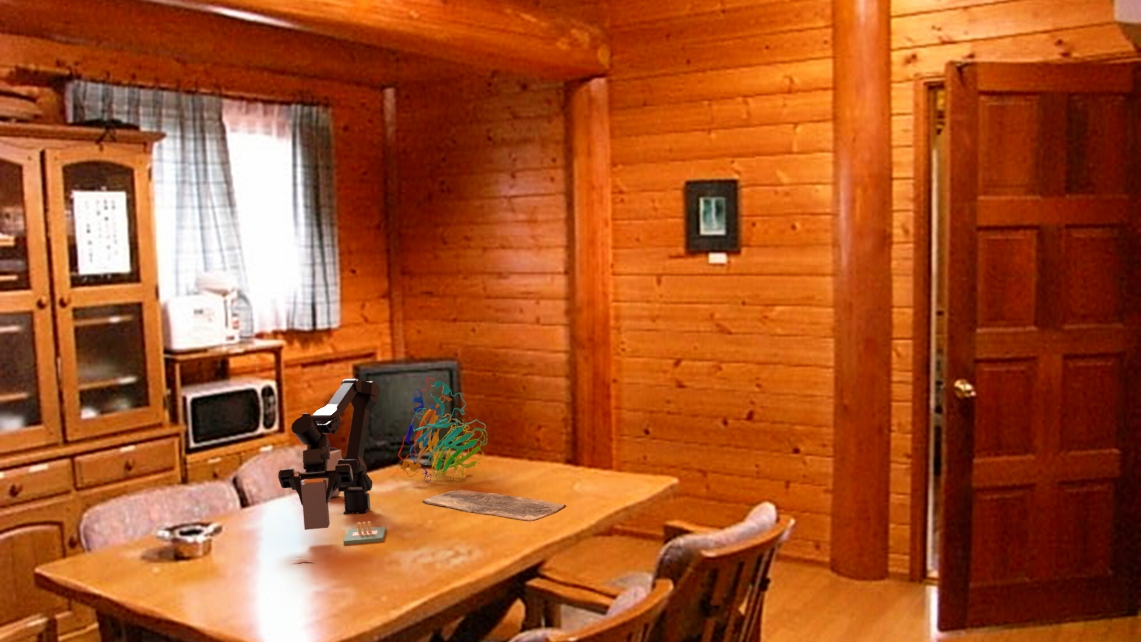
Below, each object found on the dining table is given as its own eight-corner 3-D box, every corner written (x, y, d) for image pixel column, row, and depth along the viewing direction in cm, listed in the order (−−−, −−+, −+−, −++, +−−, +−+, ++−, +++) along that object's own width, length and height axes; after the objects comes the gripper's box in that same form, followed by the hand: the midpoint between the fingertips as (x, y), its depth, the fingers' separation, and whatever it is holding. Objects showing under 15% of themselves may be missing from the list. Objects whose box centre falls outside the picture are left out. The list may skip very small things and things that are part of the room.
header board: (348, 533, 271) (347, 518, 271) (385, 529, 272) (384, 515, 272) (343, 544, 260) (342, 529, 260) (382, 541, 261) (381, 526, 261)
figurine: (352, 493, 317) (349, 446, 315) (329, 501, 308) (325, 453, 307) (333, 491, 321) (329, 445, 320) (309, 499, 313) (305, 451, 312)
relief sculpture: (529, 522, 271) (529, 520, 271) (416, 502, 300) (416, 499, 300) (573, 506, 286) (573, 504, 286) (461, 488, 315) (461, 486, 315)
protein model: (514, 398, 338) (443, 362, 320) (499, 490, 323) (423, 459, 305) (457, 416, 358) (387, 383, 341) (440, 504, 343) (366, 475, 325)
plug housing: (306, 526, 266) (302, 478, 265) (329, 524, 266) (326, 476, 265) (304, 529, 262) (300, 481, 261) (328, 527, 263) (324, 479, 262)
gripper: (276, 439, 265) (272, 490, 255) (348, 433, 267) (346, 484, 257) (283, 462, 274) (280, 512, 264) (353, 457, 276) (352, 506, 266)
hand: (314, 503), depth 262 cm, fingers closed on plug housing, 6 cm apart
